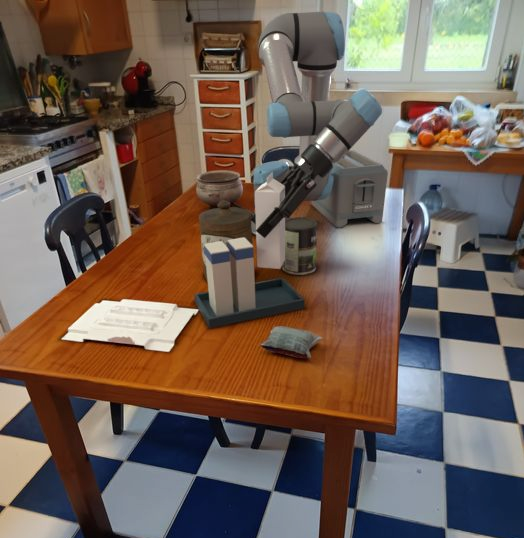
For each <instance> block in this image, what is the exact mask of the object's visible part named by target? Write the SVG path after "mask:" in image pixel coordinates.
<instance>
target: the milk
mask: <svg viewBox="0 0 524 538" xmlns="http://www.w3.org/2000/svg"><path fill="white" fill-rule="evenodd" d="M284 198H285V186H284V185H283V184H281V183H280V182H278V181H277V180H275V179H273V172H272V173H271V174H270V175H269V176H268V177H267V182H265V183H264V184H262V185H261V186H260V187H259V188H258V189H257V190H256V191H255V205H254V211H255V212H256V230H257V228H258V227H259V226H260V225H261V224H262V223H263V222H264V221H265V220H266V218H267V217H268V216H269V215H270V214H271V213H272V212H273V211H274V208H275V207H279V206H280V204H281V203H282V201H283V200H284ZM255 238H256V265H257V268H262V269H263V268H264V269H276V270H281V268H282V267H283V263H284V261H285V218H283V219H282V220H281V221H280V222H279V223H278V224H277V225H276V226H275V228H274V229H273V230H272V231H271V232H270V233H269V234H268V235H267V236H266V237H265V238H264V237H262V236H261V235H260V234H259V233H258V232H257V231H256V236H255Z"/></svg>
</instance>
